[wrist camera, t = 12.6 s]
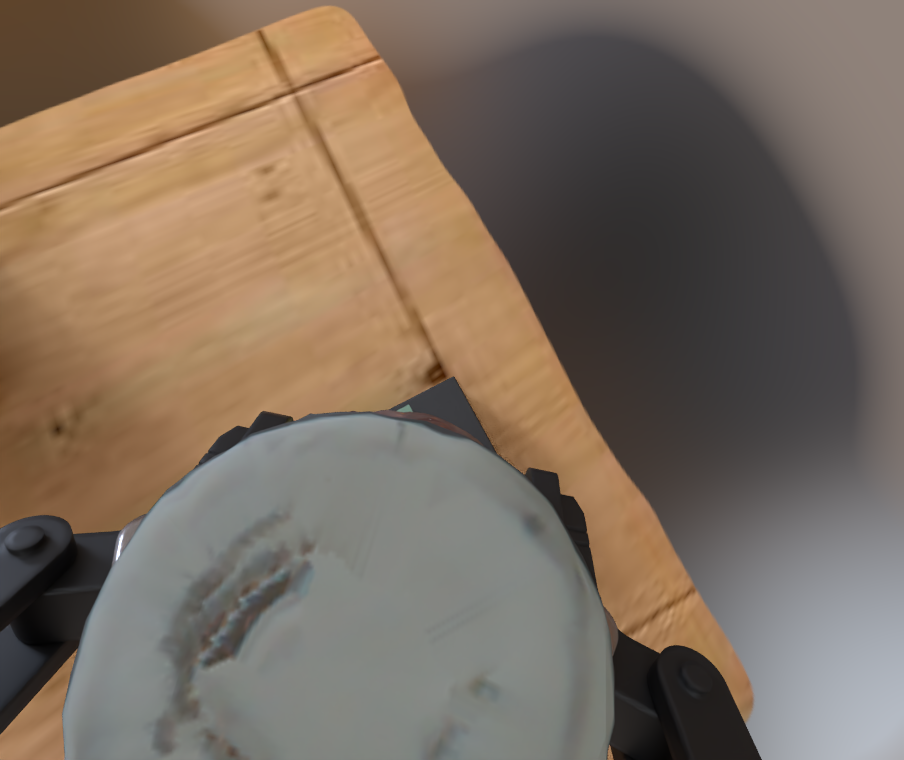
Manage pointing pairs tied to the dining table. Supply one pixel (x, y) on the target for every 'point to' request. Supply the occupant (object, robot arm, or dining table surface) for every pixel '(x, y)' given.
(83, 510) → the dining table surface
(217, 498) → the sauce bottle
